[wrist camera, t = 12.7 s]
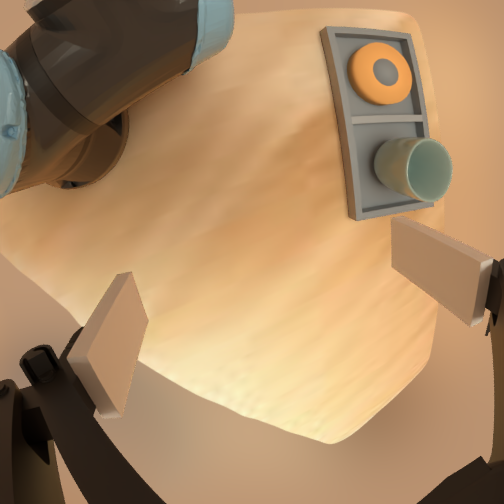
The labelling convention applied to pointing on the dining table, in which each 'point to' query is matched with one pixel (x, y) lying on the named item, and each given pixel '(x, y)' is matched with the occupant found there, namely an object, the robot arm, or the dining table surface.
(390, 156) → the cup
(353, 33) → the tray
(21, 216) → the dining table surface
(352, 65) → the orange round thick disc
